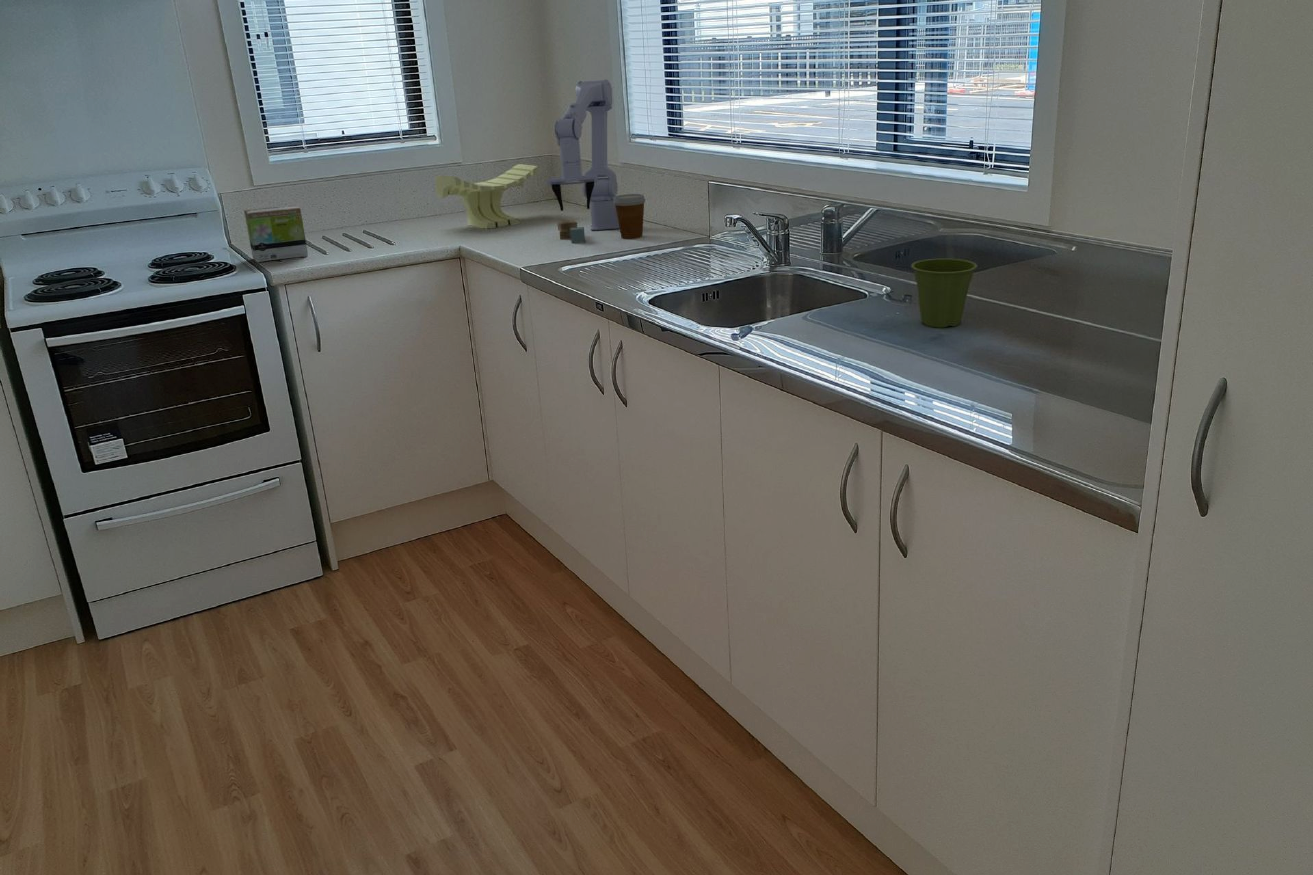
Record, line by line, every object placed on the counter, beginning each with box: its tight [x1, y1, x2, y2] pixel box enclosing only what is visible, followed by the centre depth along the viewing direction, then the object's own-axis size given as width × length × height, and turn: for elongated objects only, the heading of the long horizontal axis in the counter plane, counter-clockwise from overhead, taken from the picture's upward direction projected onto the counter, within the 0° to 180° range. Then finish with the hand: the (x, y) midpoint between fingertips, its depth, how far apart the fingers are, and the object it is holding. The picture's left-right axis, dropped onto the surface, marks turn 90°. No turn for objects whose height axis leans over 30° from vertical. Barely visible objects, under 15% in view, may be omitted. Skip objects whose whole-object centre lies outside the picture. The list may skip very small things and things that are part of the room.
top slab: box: [557, 219, 578, 232], centre depth 307 cm, size 5×5×2 cm
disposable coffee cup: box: [613, 193, 646, 240], centre depth 300 cm, size 10×10×12 cm
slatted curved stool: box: [435, 163, 539, 230], centre depth 340 cm, size 30×16×18 cm, turn 125°
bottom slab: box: [559, 231, 571, 240], centre depth 308 cm, size 5×5×2 cm
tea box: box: [244, 204, 309, 263], centre depth 304 cm, size 15×10×15 cm
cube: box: [570, 226, 586, 244], centre depth 300 cm, size 4×4×4 cm
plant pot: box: [910, 258, 978, 329], centre depth 190 cm, size 12×12×11 cm
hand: (575, 209), depth 297 cm, fingers open, 7 cm apart
